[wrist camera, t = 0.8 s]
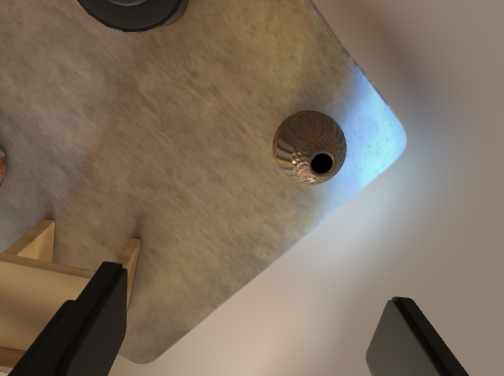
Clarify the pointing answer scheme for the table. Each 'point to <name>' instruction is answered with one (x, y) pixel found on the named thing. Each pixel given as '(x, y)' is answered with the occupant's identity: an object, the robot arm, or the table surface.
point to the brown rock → (2, 165)
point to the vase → (309, 147)
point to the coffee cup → (135, 13)
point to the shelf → (40, 288)
